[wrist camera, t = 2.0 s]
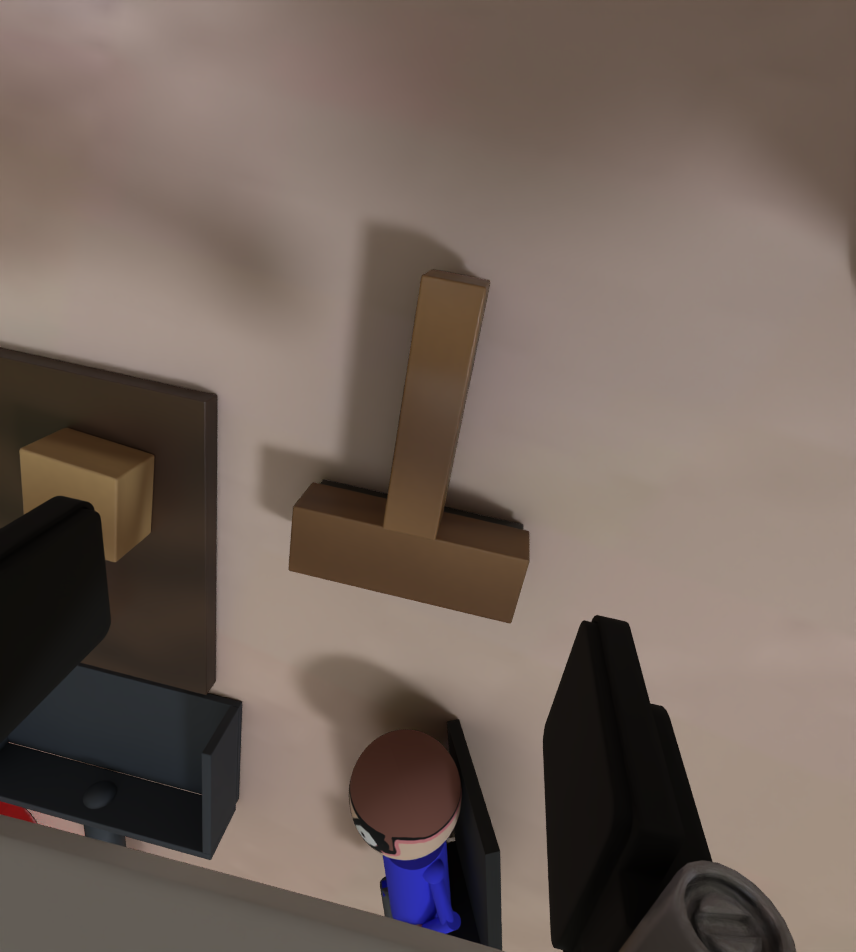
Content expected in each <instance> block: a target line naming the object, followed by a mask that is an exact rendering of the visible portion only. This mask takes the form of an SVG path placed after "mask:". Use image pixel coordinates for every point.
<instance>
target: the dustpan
mask: <svg viewBox="0 0 856 952" xmlns="http://www.w3.org/2000/svg"><path fill="white" fill-rule="evenodd" d="M241 722H242V702H239V701H236V700H232V699H228V698H224V697H220V696H216V695H212V694H208V693H207V695H204V694H200V693H196V692H192V691H188V690H185V689H181V688H177V687H173V686H169V685H165V684H161V683H158V682H154V681H150V680H146V679H142V678H138V677H134V676H130V675H127V674H123V673H119V672H115V671H111V670H107V669H103V668H99V667H96V666H92V665H88V664H84V663H79V664H78V665H77V666H76V667H75V668H74V669H73V670H72V671H71V672H70V673H69V675H68V676H67V677H66V678H65V679H64V680H63V681H62V682H61V683H60V684H59V685H58V686H57V687H56V688H55V689H54V690H53V691H52V692H51V693H50V694H49V695H48V696H47V697H46V698H45V699H44V700H43V701H42V702H41V703H40V704H39V705H38V706H37V707H36V708H35V709H34V710H33V711H32V712H31V713H30V714H29V715H28V716H27V717H26V718H25V719H24V720H23V721H22V722H21V723H20V724H19V725H18V726H17V727H16V728H15V729H14V730H13V731H12V732H11V733H10V734H9V735H8V736H7V737H6V738H5V739H4V740H3V741H2V742H1V743H0V801H1V802H5V803H8V804H12V805H15V806H19V807H22V808H26V809H30V810H33V811H37V812H40V813H44V814H47V815H51V816H55V817H58V818H62V819H65V820H69V821H72V822H76V823H80V824H83V825H84V831H85V837H89V838H93V839H97V840H101V841H104V842H108V843H112V844H116V845H120V846H123V847H126V841H125V836H126V837H130V838H133V839H137V840H140V841H144V842H147V843H151V844H155V845H158V846H162V847H165V848H169V849H172V850H176V851H180V852H183V853H187V854H190V855H194V856H197V857H201V858H205V859H208V860H211V859H212V857H213V855H214V853H215V851H216V849H217V847H218V844H219V842H220V840H221V838H222V836H223V834H224V832H225V830H226V828H227V826H228V824H229V822H230V820H231V818H232V816H233V814H234V812H235V810H236V803H237V801H238V799H239V781H240V752H241ZM8 742H11V743H15V744H18V745H15V744H11V743H8ZM19 745H22V746H19ZM23 746H26V747H29V748H26V747H23ZM30 748H33V749H30ZM34 749H37V750H41V751H44V752H41V751H37V750H34ZM45 752H48V753H52V754H55V755H52V754H48V753H45ZM56 755H59V756H63V757H66V758H63V757H59V756H56ZM67 758H70V759H74V760H77V761H74V760H70V759H67ZM78 761H81V762H85V763H88V764H85V763H81V762H78ZM89 764H92V765H96V766H99V767H96V766H92V765H89ZM100 767H103V768H107V769H110V770H107V769H103V768H100ZM111 770H114V771H118V772H121V773H118V772H114V771H111ZM122 773H125V774H122ZM126 774H129V775H133V776H136V777H133V776H129V775H126ZM137 777H140V778H144V779H147V780H144V779H140V778H137ZM148 780H151V781H155V782H158V783H155V782H151V781H148ZM159 783H162V784H166V785H169V786H166V785H162V784H159ZM170 786H173V787H177V788H180V789H177V788H173V787H170ZM181 789H184V790H188V791H191V792H188V791H184V790H181ZM192 792H195V793H199V794H202V795H199V794H195V793H192Z"/></svg>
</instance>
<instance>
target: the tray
mask: <svg viewBox="0 0 856 952" xmlns="http://www.w3.org/2000/svg"><path fill="white" fill-rule="evenodd" d="M63 428H70V429H73V430H76V431H79V432H83V433H86V434H89V435H92V436H95V437H99V438H102V439H105V440H108V441H111V442H115V443H118V444H121V445H124V446H127V447H130V448H134V449H137V450H140V451H143V452H146V453H150V454H153V455H154V456H155V458H154V478H153V499H152V519H151V533H150V534H149V535H148V536H146V537H145V538H144V539H143V540H142V541H141V542H139V543H138V544H137V545H136V546H135V547H133V548H132V549H131V550H130V551H129V552H128V553H126V554H125V555H124V556H123V557H122V558H120V559H119V560H118V561H117V562H111V561H108V560H105V564H106V574H107V584H108V594H109V604H110V614H111V625H110V628H109V631H108V633H107V635H106V636H105V638H104V639H103V640H102V641H101V642H100V643H99V644H98V645H97V646H96V647H95V648H94V649H93V650H92V651H91V652H90V653H89V654H88V655H87V656H86V657H85V658H84V659H83V660H82V661H81V662H80V663H84V664H88V665H92V666H96V667H99V668H103V669H107V670H111V671H115V672H119V673H123V674H127V675H130V676H134V677H138V678H142V679H146V680H150V681H154V682H158V683H161V684H165V685H169V686H173V687H177V688H181V689H185V690H188V691H192V692H196V693H200V694H204V695H207V693H208V692H209V690H210V689H211V687H212V686H213V684H214V683H215V681H216V529H217V395H214V394H209V393H205V392H200V391H196V390H191V389H186V388H182V387H177V386H173V385H168V384H163V383H159V382H154V381H150V380H145V379H141V378H136V377H131V376H127V375H122V374H118V373H113V372H109V371H104V370H99V369H95V368H90V367H86V366H81V365H76V364H72V363H67V362H63V361H58V360H54V359H49V358H44V357H40V356H35V355H31V354H26V353H22V352H17V351H12V350H8V349H3V348H0V529H1V528H2V527H4V526H6V525H7V524H9V523H11V522H12V521H14V520H16V519H17V518H19V517H21V516H22V515H24V511H23V496H22V482H21V467H20V453H19V450H20V448H22V447H24V446H26V445H29V444H31V443H33V442H35V441H37V440H39V439H42V438H44V437H46V436H48V435H50V434H52V433H55V432H57V431H59V430H61V429H63Z"/></svg>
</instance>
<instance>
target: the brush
mask: <svg viewBox="0 0 856 952" xmlns="http://www.w3.org/2000/svg"><path fill="white" fill-rule="evenodd" d="M489 287H490V281H489V280H486V279H481V278H476V277H471V276H466V275H461V274H456V273H451V272H445V271H440V270H435V269H432V270H430V271H428V272H427V273H425V274H423V275H422V276H421V281H420V288H419V294H418V301H417V307H416V314H415V320H414V327H413V333H412V340H411V346H410V353H409V359H408V366H407V372H406V379H405V385H404V392H403V398H402V404H401V411H400V417H399V424H398V430H397V437H396V443H395V450H394V456H393V463H392V469H391V476H390V482H389V489H388V494H387V493H382V492H378V491H373V490H369V489H365V488H360V487H356V486H351V485H347V484H342V483H338V482H334V481H329V480H325V479H323V480H322V481H321V483H320V484H319V483H315V482H313V483H312V484H311V485H310V486H309V487H308V489H307V490H306V491H305V492H304V494H303V495H302V496H301V497H300V498H299V500H298V501H297V502H296V503H295V505H294V506H293V515H292V529H291V542H290V556H289V571H293V572H297V573H301V574H305V575H310V576H314V577H318V578H322V579H326V580H330V581H335V582H339V583H343V584H347V585H351V586H356V587H360V588H364V589H368V590H372V591H376V592H381V593H385V594H389V595H393V596H397V597H401V598H406V599H410V600H414V601H418V602H422V603H427V604H431V605H435V606H439V607H443V608H447V609H452V610H456V611H460V612H464V613H468V614H473V615H477V616H481V617H485V618H489V619H493V620H498V621H502V622H506V623H511V622H512V619H513V615H514V612H515V609H516V605H517V602H518V598H519V595H520V592H521V588H522V585H523V581H524V578H525V575H526V571H527V568H528V565H529V531H526V530H523V524H519V523H515V522H510V521H506V520H502V519H497V518H493V517H488V516H484V515H479V514H475V513H471V512H466V511H462V510H457V509H453V508H449V507H444V506H445V501H446V496H447V491H448V486H449V481H450V477H451V472H452V467H453V462H454V457H455V452H456V447H457V443H458V438H459V433H460V428H461V423H462V418H463V413H464V409H465V404H466V399H467V394H468V389H469V384H470V380H471V375H472V370H473V365H474V360H475V355H476V350H477V346H478V341H479V336H480V331H481V326H482V321H483V316H484V312H485V307H486V302H487V297H488V292H489Z"/></svg>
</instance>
